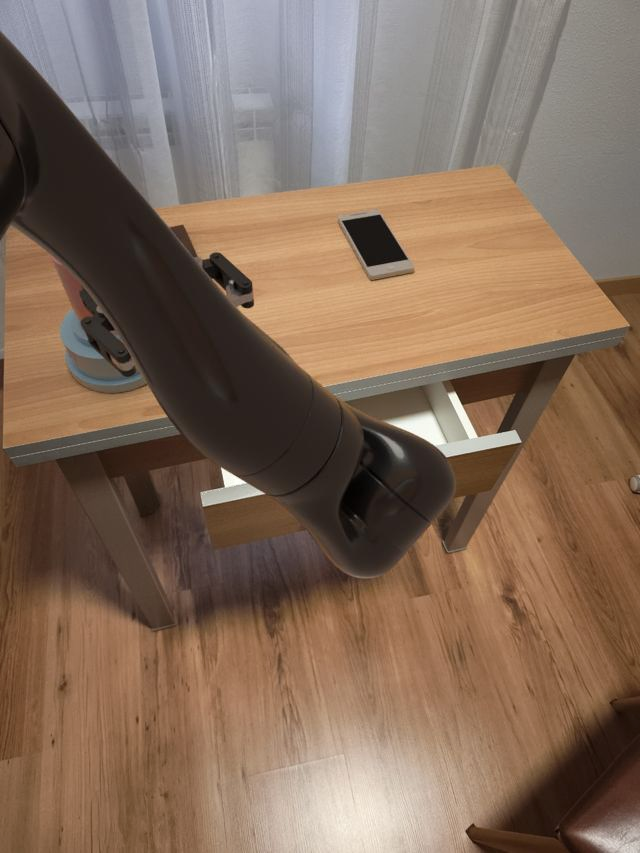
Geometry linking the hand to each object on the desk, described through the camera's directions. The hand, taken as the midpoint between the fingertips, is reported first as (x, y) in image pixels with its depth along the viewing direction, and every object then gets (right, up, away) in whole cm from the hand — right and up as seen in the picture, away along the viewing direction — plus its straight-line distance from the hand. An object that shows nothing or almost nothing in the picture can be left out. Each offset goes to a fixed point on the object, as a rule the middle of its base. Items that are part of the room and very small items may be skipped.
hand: (128, 270), depth 53 cm
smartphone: (+26, +14, +36) cm, 47 cm away
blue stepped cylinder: (-8, -5, +21) cm, 23 cm away
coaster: (-6, +12, +34) cm, 36 cm away
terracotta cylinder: (-8, -1, +16) cm, 18 cm away
